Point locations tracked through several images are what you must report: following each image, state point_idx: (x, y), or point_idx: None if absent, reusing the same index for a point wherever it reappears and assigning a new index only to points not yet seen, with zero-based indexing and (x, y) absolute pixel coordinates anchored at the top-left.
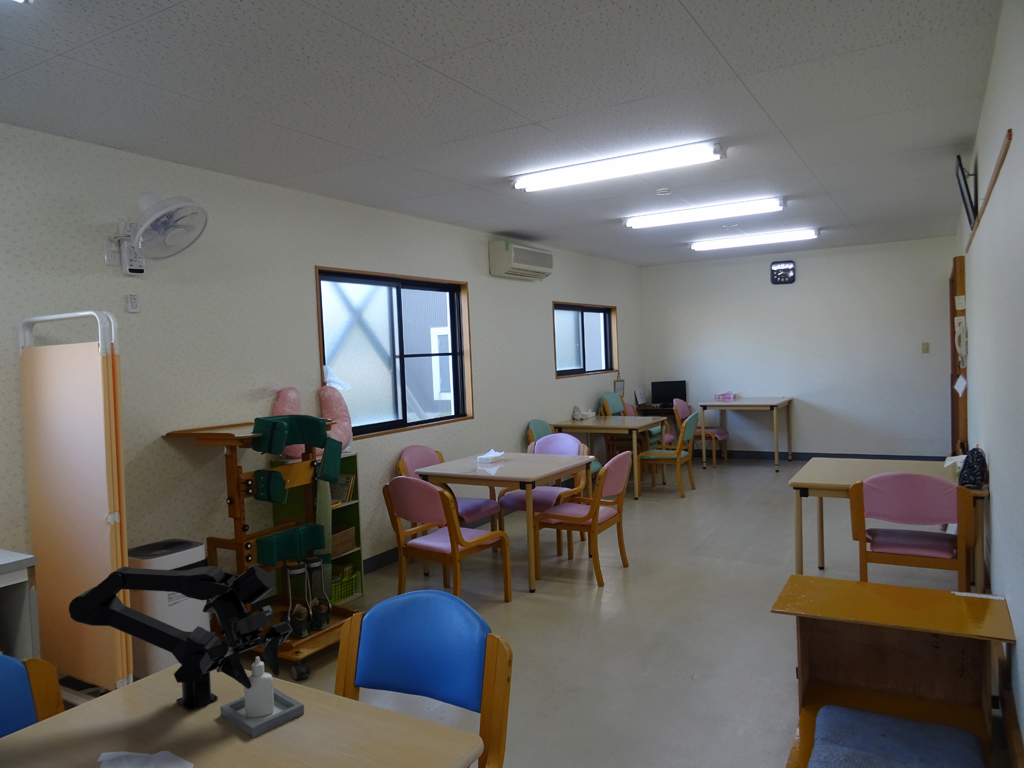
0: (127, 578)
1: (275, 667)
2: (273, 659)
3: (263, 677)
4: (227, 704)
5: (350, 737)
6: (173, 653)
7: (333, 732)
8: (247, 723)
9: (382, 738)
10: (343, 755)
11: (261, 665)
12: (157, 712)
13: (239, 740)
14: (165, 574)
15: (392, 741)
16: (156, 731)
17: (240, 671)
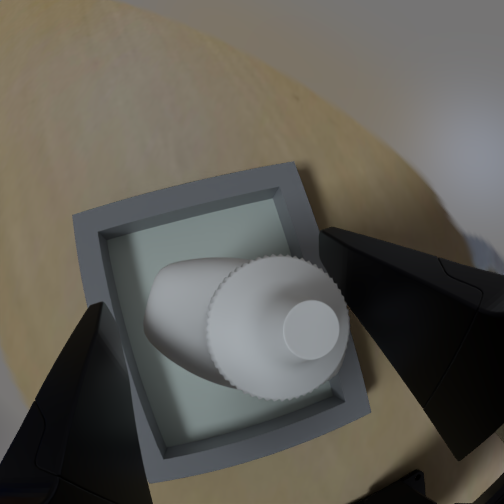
0: None
1: (96, 336)
2: (79, 393)
3: (225, 264)
4: (346, 415)
5: (71, 53)
6: None
7: (81, 83)
8: (305, 202)
9: (39, 34)
10: (123, 12)
11: (247, 267)
12: (462, 482)
13: (323, 190)
14: None
15: (38, 24)
16: None
17: (441, 264)
